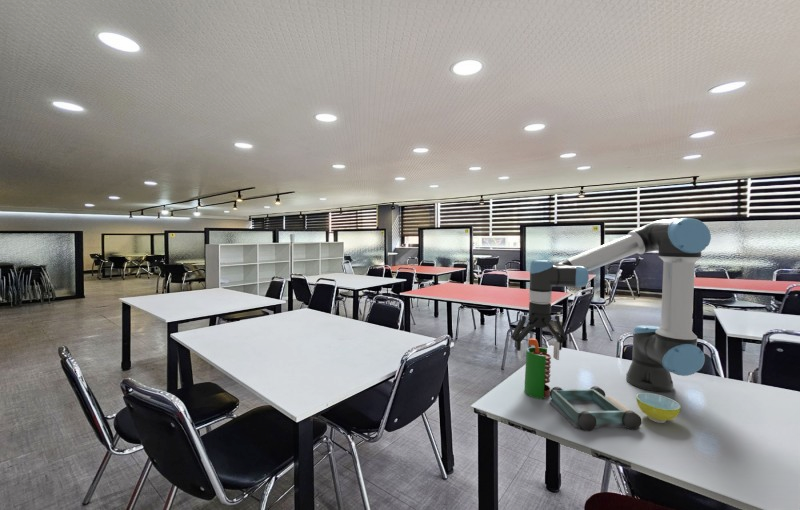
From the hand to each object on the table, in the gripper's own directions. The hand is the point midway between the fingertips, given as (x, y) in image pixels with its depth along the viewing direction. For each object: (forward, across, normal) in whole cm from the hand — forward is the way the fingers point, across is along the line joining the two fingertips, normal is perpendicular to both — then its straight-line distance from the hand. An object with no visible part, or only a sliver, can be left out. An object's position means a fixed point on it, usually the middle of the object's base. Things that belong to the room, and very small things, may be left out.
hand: (538, 358), depth 129 cm
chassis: (+13, -11, +16) cm, 23 cm away
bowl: (+13, -30, +20) cm, 38 cm away
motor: (+13, 0, 0) cm, 13 cm away
